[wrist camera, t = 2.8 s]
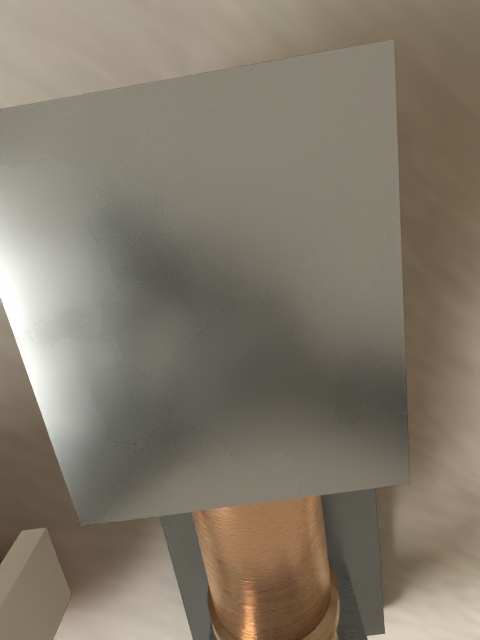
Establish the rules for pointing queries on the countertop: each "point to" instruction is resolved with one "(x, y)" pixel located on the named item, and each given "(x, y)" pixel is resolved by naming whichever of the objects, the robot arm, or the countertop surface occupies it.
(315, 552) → the copper tube
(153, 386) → the jig
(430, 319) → the countertop surface
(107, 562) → the countertop surface
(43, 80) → the countertop surface
